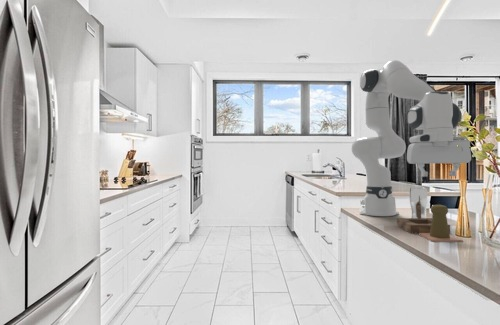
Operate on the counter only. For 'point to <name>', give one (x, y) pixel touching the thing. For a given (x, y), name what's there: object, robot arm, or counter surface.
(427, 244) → the counter surface
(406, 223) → the walnut holder
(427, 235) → the terracotta tile
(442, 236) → the olive flared column
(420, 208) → the beer glass
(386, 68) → the robot arm
